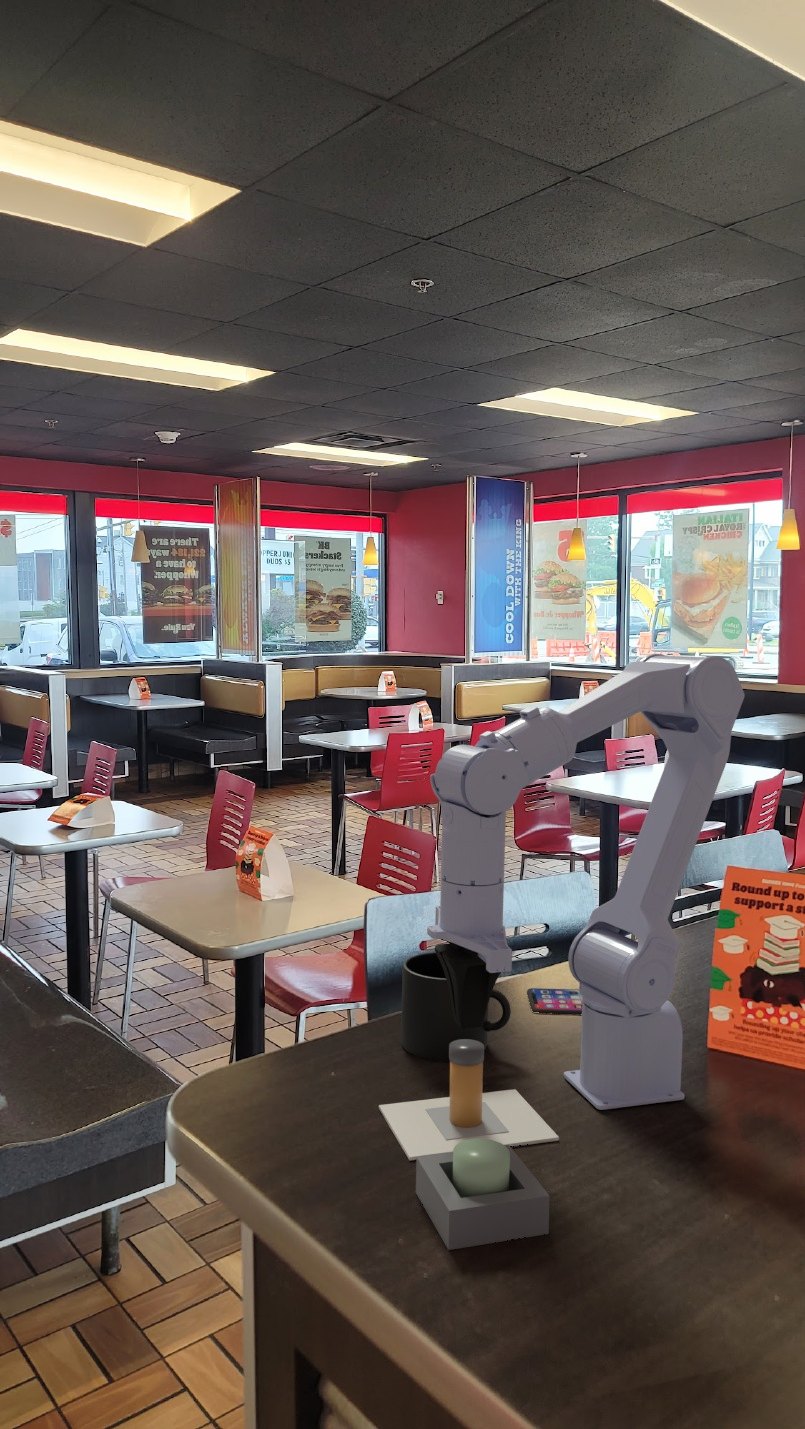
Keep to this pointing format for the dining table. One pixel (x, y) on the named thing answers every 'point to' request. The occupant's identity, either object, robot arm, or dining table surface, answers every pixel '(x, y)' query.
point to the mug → (436, 1011)
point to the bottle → (466, 1082)
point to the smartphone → (555, 1001)
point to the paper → (433, 1133)
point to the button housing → (481, 1204)
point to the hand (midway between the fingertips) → (468, 1024)
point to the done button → (480, 1167)
